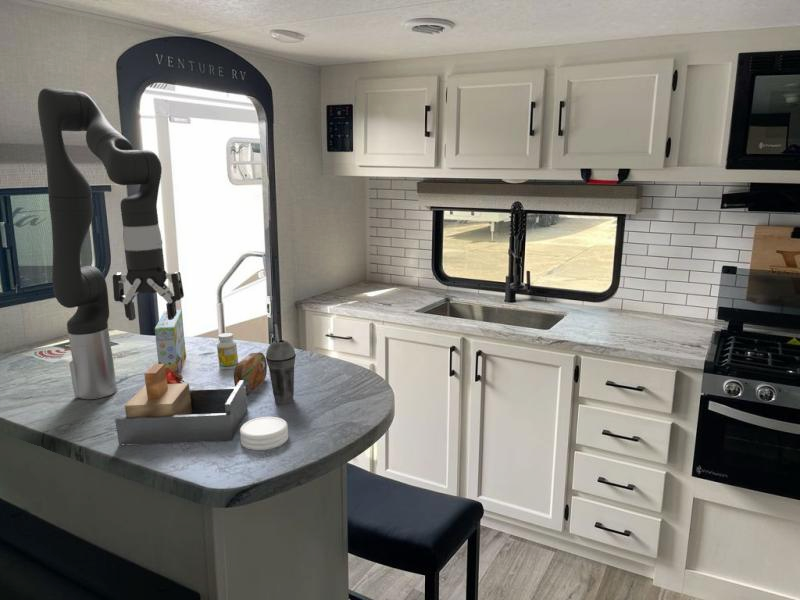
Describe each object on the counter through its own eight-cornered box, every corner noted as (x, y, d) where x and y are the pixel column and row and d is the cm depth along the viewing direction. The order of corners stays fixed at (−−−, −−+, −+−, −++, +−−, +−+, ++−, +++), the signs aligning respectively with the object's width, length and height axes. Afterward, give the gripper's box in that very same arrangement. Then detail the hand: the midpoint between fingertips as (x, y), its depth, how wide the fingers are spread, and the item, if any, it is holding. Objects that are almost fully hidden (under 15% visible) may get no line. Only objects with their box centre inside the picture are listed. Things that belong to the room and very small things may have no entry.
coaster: (236, 452, 127) (235, 437, 126) (245, 431, 137) (244, 416, 136) (285, 450, 127) (284, 434, 127) (291, 429, 137) (290, 414, 136)
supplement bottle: (239, 367, 177) (236, 335, 175) (220, 371, 175) (217, 338, 172) (236, 362, 182) (233, 331, 179) (218, 365, 180) (214, 333, 177)
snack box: (180, 379, 169) (174, 326, 166) (159, 381, 168) (152, 328, 165) (187, 355, 189) (182, 308, 186) (168, 357, 188) (162, 309, 185)
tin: (244, 398, 154) (241, 367, 152) (233, 398, 155) (230, 366, 153) (268, 377, 169) (266, 348, 167) (258, 377, 169) (255, 347, 167)
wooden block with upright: (128, 435, 133) (120, 379, 130) (149, 412, 145) (142, 360, 142) (175, 433, 133) (168, 377, 130) (192, 411, 145) (185, 358, 142)
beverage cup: (304, 396, 155) (298, 319, 150) (290, 408, 148) (284, 328, 143) (278, 393, 157) (272, 318, 152) (263, 404, 150) (256, 326, 146)
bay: (118, 445, 131) (113, 410, 129) (146, 414, 147) (142, 382, 145) (232, 440, 132) (228, 406, 130) (247, 410, 147) (244, 378, 145)
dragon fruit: (162, 395, 162) (180, 414, 154) (133, 385, 156) (151, 405, 148) (179, 367, 163) (198, 385, 155) (151, 356, 157) (170, 374, 149)
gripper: (101, 249, 128) (111, 324, 131) (170, 248, 128) (178, 323, 132) (117, 244, 135) (126, 315, 139) (182, 242, 135) (189, 314, 139)
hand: (151, 319), depth 135 cm, fingers open, 8 cm apart
